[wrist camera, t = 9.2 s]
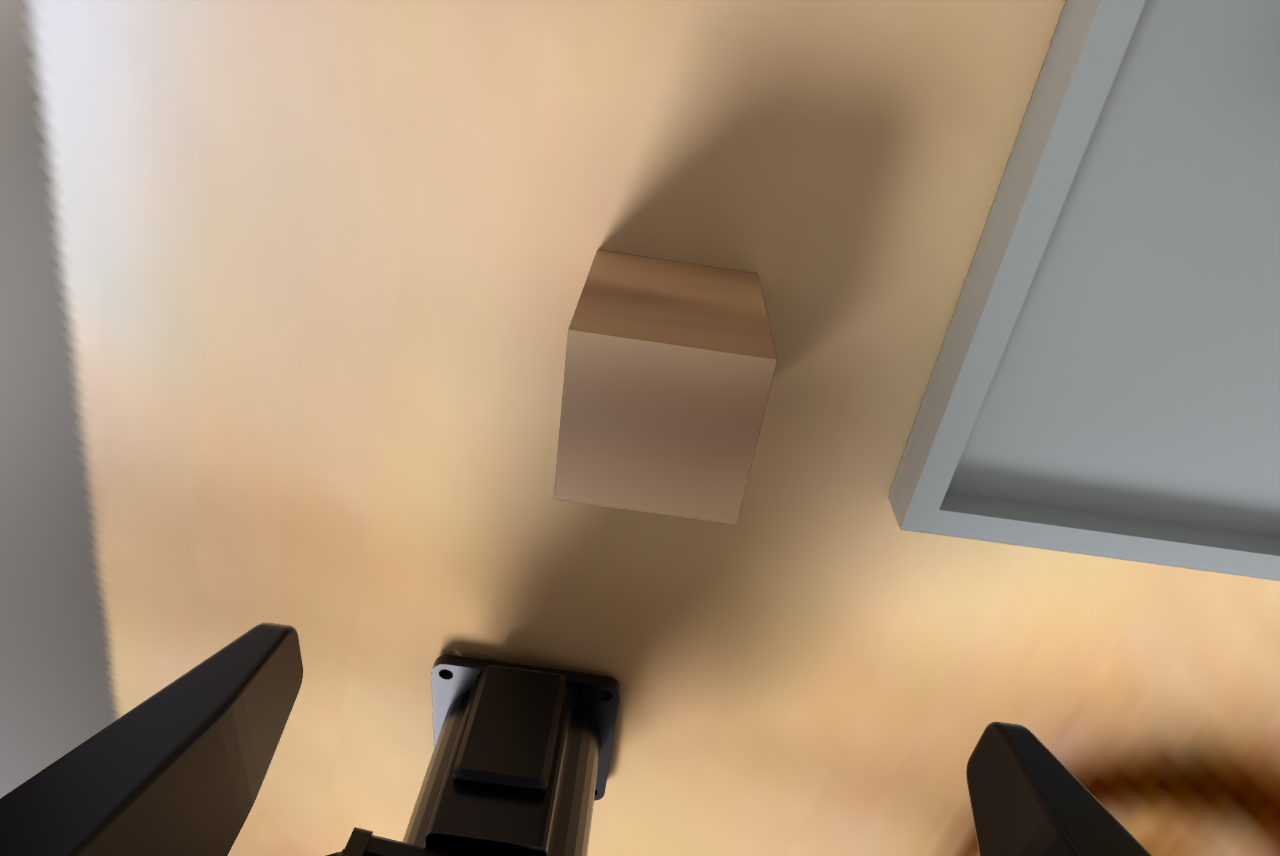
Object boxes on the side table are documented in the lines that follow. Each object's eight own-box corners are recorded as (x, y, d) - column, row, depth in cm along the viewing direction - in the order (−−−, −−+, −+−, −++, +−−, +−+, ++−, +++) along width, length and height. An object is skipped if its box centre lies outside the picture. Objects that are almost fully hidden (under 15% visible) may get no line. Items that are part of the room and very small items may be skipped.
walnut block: (727, 412, 21) (736, 525, 16) (583, 391, 21) (554, 499, 16) (757, 273, 19) (777, 360, 14) (597, 249, 18) (568, 329, 14)
